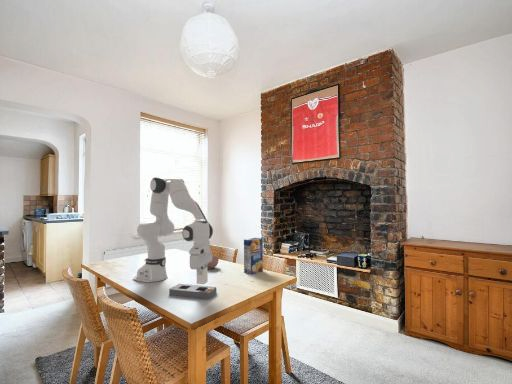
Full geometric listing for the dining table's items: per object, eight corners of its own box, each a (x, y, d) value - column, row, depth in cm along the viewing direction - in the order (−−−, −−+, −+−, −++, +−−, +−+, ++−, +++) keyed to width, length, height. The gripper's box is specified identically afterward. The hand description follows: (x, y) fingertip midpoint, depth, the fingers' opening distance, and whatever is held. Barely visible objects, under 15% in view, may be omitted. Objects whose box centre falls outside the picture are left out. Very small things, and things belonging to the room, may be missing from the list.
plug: (196, 283, 151) (196, 265, 151) (200, 281, 155) (200, 263, 156) (203, 284, 150) (203, 265, 150) (207, 281, 154) (207, 263, 154)
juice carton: (255, 269, 208) (255, 237, 209) (262, 271, 203) (262, 238, 203) (244, 272, 200) (243, 239, 200) (251, 274, 194) (250, 240, 195)
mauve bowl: (219, 266, 218) (219, 251, 218) (217, 270, 206) (216, 255, 206) (204, 266, 219) (204, 251, 219) (201, 270, 207) (201, 255, 207)
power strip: (169, 296, 153) (169, 288, 153) (179, 290, 162) (179, 282, 162) (208, 300, 146) (208, 291, 146) (216, 294, 156) (216, 286, 156)
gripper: (205, 245, 164) (205, 268, 164) (187, 251, 144) (187, 278, 144) (214, 245, 162) (215, 269, 162) (198, 252, 143) (198, 279, 142)
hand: (202, 273), depth 153 cm, fingers closed on plug, 4 cm apart
